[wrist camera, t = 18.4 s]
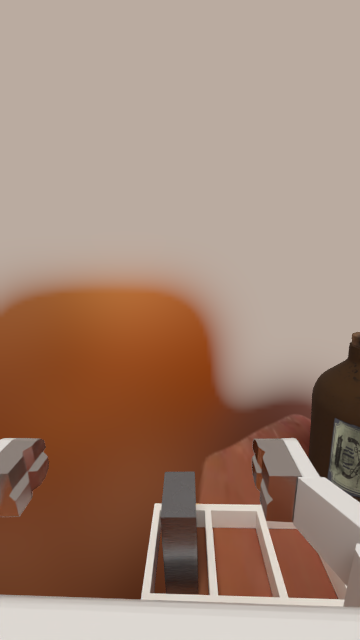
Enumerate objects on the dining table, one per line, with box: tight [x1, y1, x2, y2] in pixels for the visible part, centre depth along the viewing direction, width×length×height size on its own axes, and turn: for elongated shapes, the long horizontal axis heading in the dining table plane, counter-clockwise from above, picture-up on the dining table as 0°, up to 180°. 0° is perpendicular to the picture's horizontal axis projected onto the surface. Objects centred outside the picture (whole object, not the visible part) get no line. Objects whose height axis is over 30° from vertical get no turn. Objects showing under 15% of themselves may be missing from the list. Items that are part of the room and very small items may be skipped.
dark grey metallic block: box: [160, 472, 198, 594], centre depth 26 cm, size 4×5×11 cm
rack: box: [141, 504, 347, 607], centre depth 27 cm, size 21×10×3 cm, turn 88°
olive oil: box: [309, 332, 360, 502], centre depth 33 cm, size 11×11×25 cm
